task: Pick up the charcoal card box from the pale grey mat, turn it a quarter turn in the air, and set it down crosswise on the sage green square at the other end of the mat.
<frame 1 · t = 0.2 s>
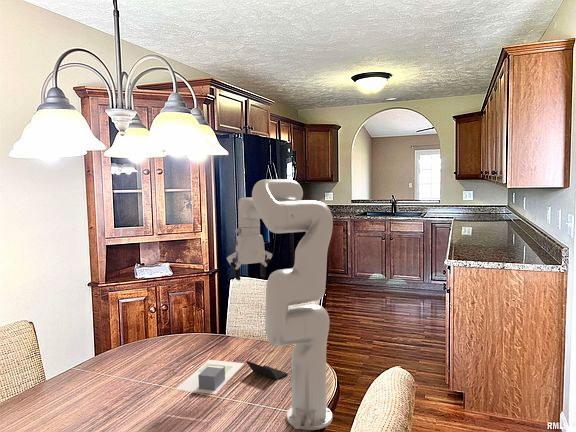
hand: (250, 278, 157), 31 cm above the table, tool pointing down, fingers open, 9 cm apart
mat: (211, 376, 147), on the table
handheld gaming console: (267, 377, 147), on the table
card box: (212, 384, 140), resting on mat
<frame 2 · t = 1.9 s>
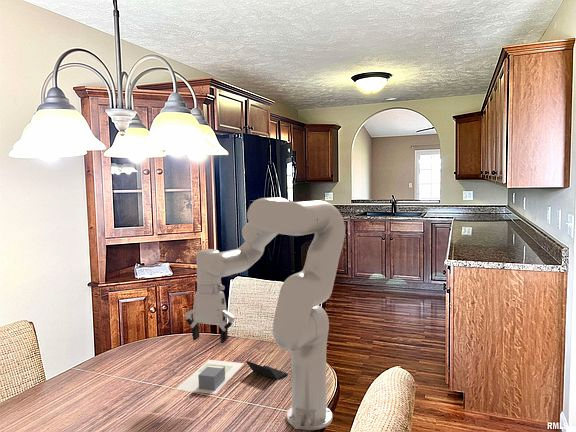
hand: (209, 340, 139), 15 cm above the table, tool pointing down, fingers open, 9 cm apart
nothing on the table moved.
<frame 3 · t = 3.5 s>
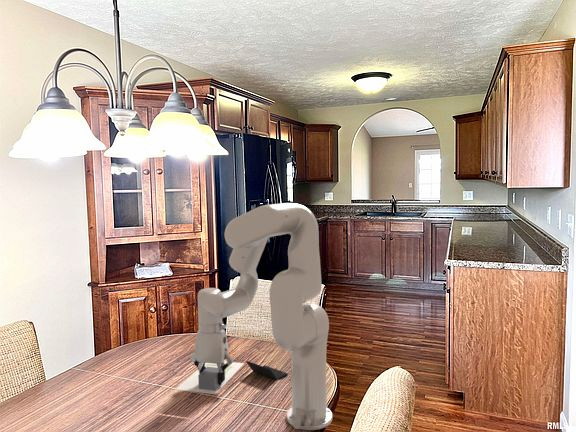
hand: (212, 381, 140), 1 cm above the table, tool pointing down, fingers closed on card box, 5 cm apart
card box: (212, 384, 140), resting on mat, touching gripper
everything else where it was.
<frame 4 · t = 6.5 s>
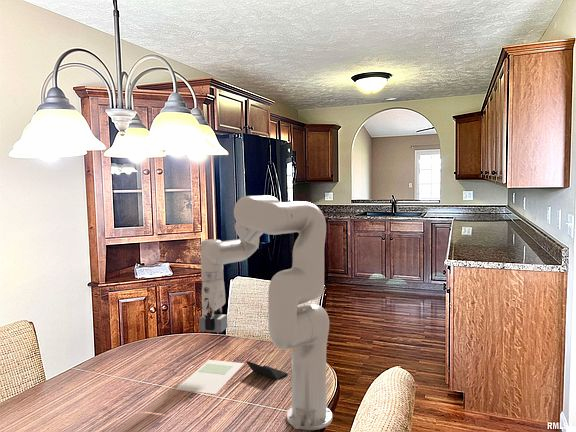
hand: (213, 326, 150), 16 cm above the table, tool pointing down, fingers closed on card box, 5 cm apart
card box: (213, 329, 150), point 15 cm above the table, touching gripper
everything else where it was.
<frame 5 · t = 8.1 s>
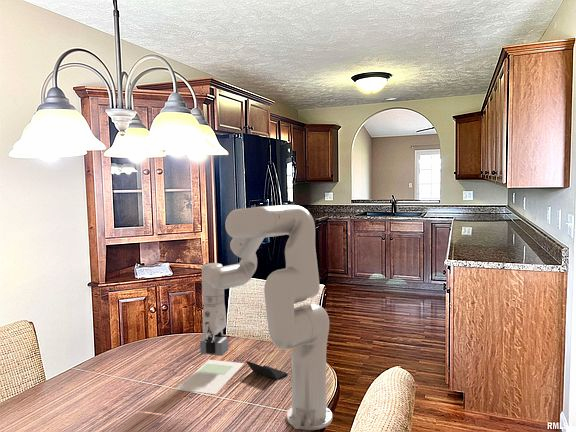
hand: (214, 349, 151), 7 cm above the table, tool pointing down, fingers closed on card box, 5 cm apart
card box: (214, 351, 151), point 7 cm above the table, touching gripper
everything else where it was.
when the fingers open (3 cm above the table, at t = 9.4 s): card box drops 1 cm, resting on mat.
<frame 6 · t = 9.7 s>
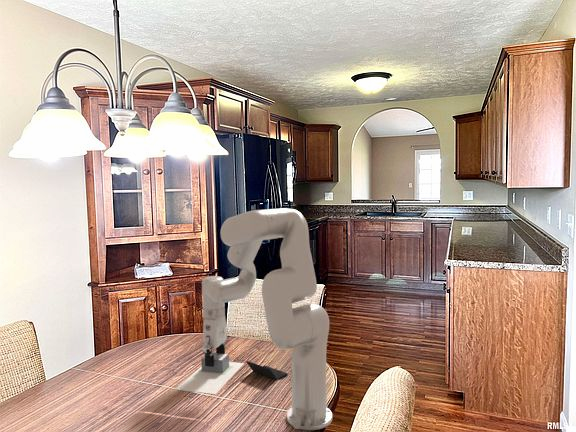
hand: (215, 360, 151), 3 cm above the table, tool pointing down, fingers open, 8 cm apart
card box: (215, 368, 152), resting on mat
everything else where it was.
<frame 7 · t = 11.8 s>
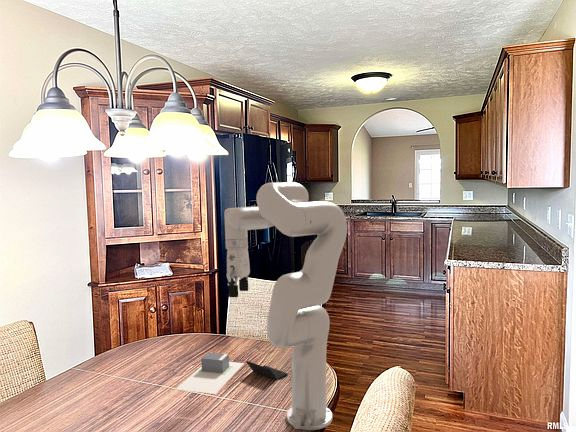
hand: (238, 293, 148), 28 cm above the table, tool pointing down, fingers open, 9 cm apart
nothing on the table moved.
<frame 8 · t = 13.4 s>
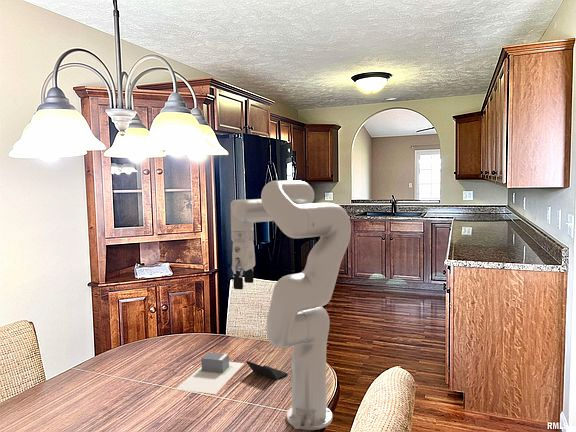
hand: (243, 285, 148), 30 cm above the table, tool pointing down, fingers open, 9 cm apart
nothing on the table moved.
at the end: card box 0.0 cm from the target spot on the mat, point 0.5 cm above the mat's base; card box tilted 0°; the gripper is holding nothing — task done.
